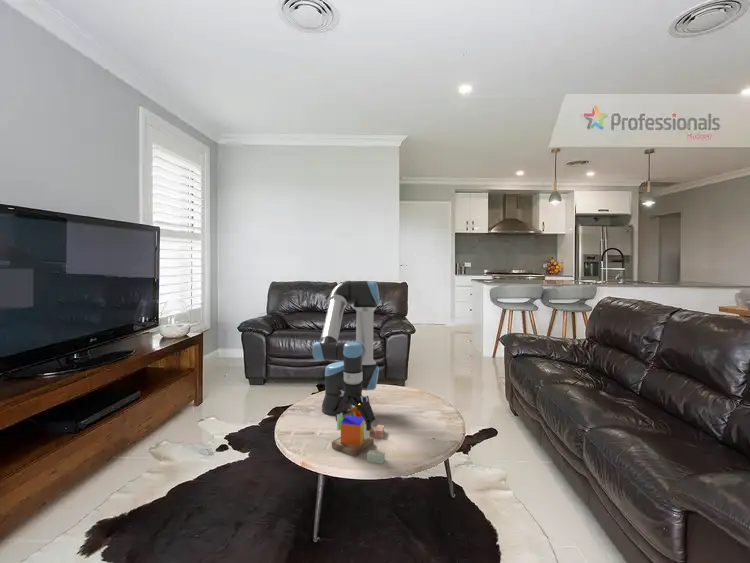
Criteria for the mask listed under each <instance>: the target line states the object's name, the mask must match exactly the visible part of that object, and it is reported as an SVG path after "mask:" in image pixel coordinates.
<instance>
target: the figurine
mask: <svg viewBox="0 0 750 563" xmlns="http://www.w3.org/2000/svg"><path fill="white" fill-rule="evenodd" d="M359 404H360V403H359ZM359 404H358V405H359ZM350 410H351V411H352V413H353V416H358V417H363V416H362V415H361V413H360V411H359V409H358V408H356V406H354V407H353V406H352V409H350ZM350 410H347V412H348V411H350ZM351 411H350V412H351ZM365 422H366V421H365ZM373 432H375V430H374V428H372V427H371V430H370V434H373Z"/></svg>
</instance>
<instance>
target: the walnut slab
mask: <svg viewBox="0 0 750 563" xmlns="http://www.w3.org/2000/svg"><path fill="white" fill-rule="evenodd" d="M374 439H375V438H374V437H371V436H370V437H368V438H367V439H363V441H362V443H361V445H353V444H343V443H341V436H339V437H338V438H336V439H335V440H333V441H331V448H332V449H334V450H336V451H339V452H342V453H345V454H347V455H350V456H353V457H357V456H359V455H360V454H362V453H363V452H366V450H367V449H369V448H371V447H372V446H374V445H375V444H374V442H375V440H374Z"/></svg>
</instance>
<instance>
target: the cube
mask: <svg viewBox="0 0 750 563" xmlns="http://www.w3.org/2000/svg"><path fill="white" fill-rule="evenodd" d="M364 422H365V420H364V418H363V417H358V416H354V415H345V417H344V418H343V421H342V422H341V430H340V437H341V443H343V444H353V445H361V443H362V441H363V439H364Z"/></svg>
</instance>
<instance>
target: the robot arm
mask: <svg viewBox="0 0 750 563" xmlns="http://www.w3.org/2000/svg"><path fill="white" fill-rule="evenodd" d="M380 304H381V303H380V291H379V286H378V283H377V282H376V281H373V280H345V281H343V282H339V284H337V285H336V286H334V287H333V289H332V290H331V292H330V293H329V295H328V298H327V305H328V307H327V311H326V315H325V318H324V319H325V320H324V323H323V327H322V331H321V334H320V335H321V336H320V339H319V341H315V342H314V343H313V345H312V357H313V359H314V360H318V361H337V362H331V363H330V364H328V365H326V367H325V372H324V382H325V383H324V385H325V386H324V392H325V394H324V398H323V401H322V405H321V412H323V413H324V414H327V415H330V416H335V421H336V430H337V431H339V432H340V431H341V422H342V421H343V419H344V418H343V415H345V414H348V413H350V412H351V411H352V410H353V409H352V408H353V406H354V407H355V406H356V408H358V409H359V411H360V413H361V415H362V416H363V418H364V420H365V421H366V422H364V439H367V438H368V437H371V436H370V435H371V433H370V430H371V428H372V423H374V422H375V421H376V416H375V414H374V411H373V409H372V406H371V403H370V398H369V395H365V396H364V395H362V393H363V391H365V392H367V391H375V389H376V388H377V384H378V378H379V372H380V367H379V366H378V365H377V361H376V360H375V359H374V319H375V318H374V317H375V316H374V312H375V310H377V308H378V306H377V305H380ZM348 305H353V309H354V310H355V311H356V321H355V322H356V323H355V324H356V325H355V326H356V328H355V334H356V335H355V341H349V342H338V341H339V336H340V331H341V325H342V321H343V316H344V310H345V308H346V307H347V306H348ZM359 403H360V404H359ZM358 404H359V405H358ZM350 409H352V410H350ZM347 410H350V411H348V412H347Z"/></svg>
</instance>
